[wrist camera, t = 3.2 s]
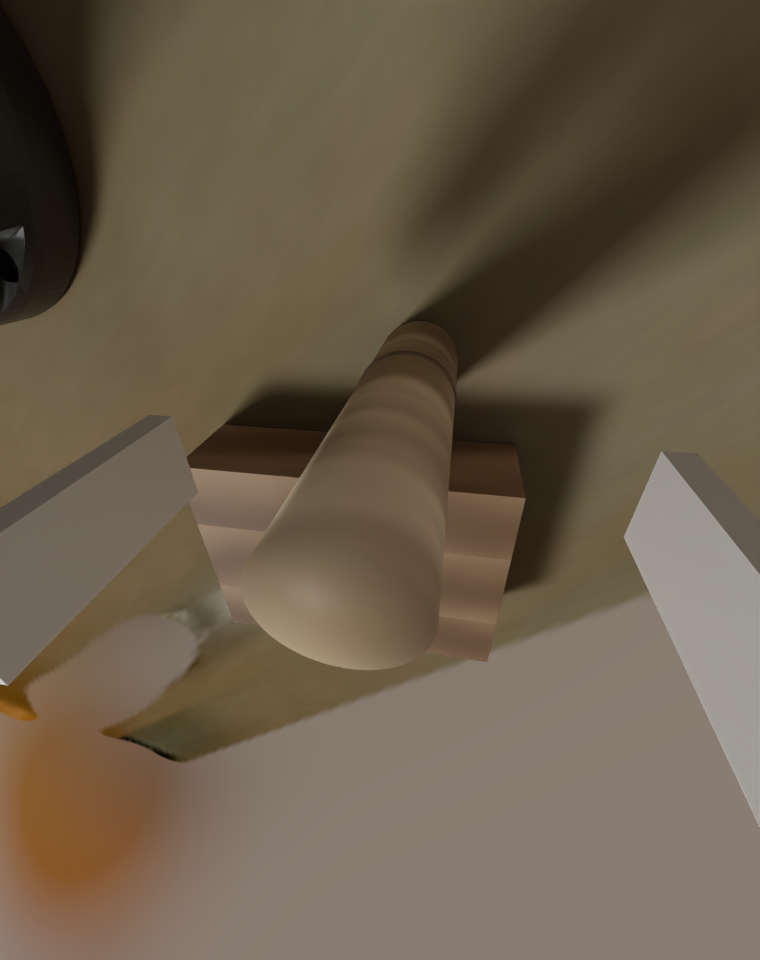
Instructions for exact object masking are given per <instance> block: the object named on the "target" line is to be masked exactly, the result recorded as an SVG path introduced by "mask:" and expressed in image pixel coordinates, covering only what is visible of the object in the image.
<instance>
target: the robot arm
mask: <svg viewBox="0 0 760 960" xmlns="http://www.w3.org/2000/svg"><path fill="white" fill-rule="evenodd" d="M78 248H79V211H78V202H77V194H76V188H75V183H74V177H73V173H72V169H71V164H70V160H69V157H68V153H67V150H66V146H65V143H64V140H63V137H62V134H61V131H60V128H59V125H58V122H57V119H56V117H55V114H54V112H53V109H52V106H51V104H50V101H49V99H48V97H47V95H46V92H45V90H44V88H43V85H42V83H41V81H40V79H39V77H38V75H37V73H36V71H35V69H34V66H33V64H32V62H31V60H30V58H29V57H28V55H27V53H26V51H25V49H24V47H23V45H22V43H21V42H20V40H19V38H18V36H17V35H16V33H15V31H14V29H13V28H12V26H11V24H10V23H9V21H8V19H7V18H6V16H5V14H4V13H3V11H2V10H1V8H0V325H3V324H7V323H11V322H16V321H20V320H24V319H28V318H31V317H34V316H37V315H39V314H41V313H43V312H45V311H46V310H48V309H49V308H50V307H52V306H53V305H54V304H55V303H56V302H57V301H58V300H59V298H60V297H61V296H62V295H63V293H64V292H65V290H66V288H67V287H68V284H69V282H70V280H71V278H72V275H73V272H74V269H75V265H76V260H77V255H78ZM197 493H198V490H197V487H196V484H195V481H194V478H193V475H192V472H191V470H190V467H189V464H188V461H187V458H186V455H185V452H184V449H183V446H182V443H181V441H180V438H179V435H178V432H177V429H176V426H175V423H174V420H173V417H171V416H157V415H149V416H147V417H145V418H144V419H142V420H141V421H139V422H137V423H136V424H134V425H133V426H131V427H129V428H128V429H126V430H125V431H123V432H121V433H120V434H118V435H116V436H115V437H113V438H112V439H110V440H108V441H107V442H105V443H104V444H102V445H100V446H99V447H97V448H96V449H94V450H92V451H91V452H89V453H88V454H86V455H84V456H83V457H81V458H80V459H78V460H76V461H75V462H73V463H72V464H70V465H68V466H67V467H65V468H64V469H62V470H60V471H59V472H57V473H56V474H54V475H52V476H51V477H49V478H48V479H46V480H44V481H43V482H41V483H40V484H38V485H36V486H35V487H33V488H32V489H30V490H28V491H27V492H25V493H23V494H22V495H20V496H19V497H17V498H15V499H14V500H12V501H11V502H9V503H7V504H6V505H4V506H3V507H1V508H0V684H2V685H7V686H8V685H9V684H10V683H11V682H12V681H13V680H14V679H15V678H16V677H17V676H18V675H19V674H20V673H21V672H22V671H23V670H24V669H25V668H26V667H27V666H28V665H29V664H30V663H31V662H32V661H33V660H34V659H35V658H36V657H37V656H38V655H39V654H40V653H41V652H42V651H43V650H44V648H45V647H46V646H47V645H48V644H49V643H50V642H51V641H52V640H53V639H54V638H55V637H56V636H57V635H58V634H59V633H60V632H61V631H62V630H63V629H64V628H65V627H66V626H67V625H68V624H69V623H70V622H71V621H72V620H73V619H74V618H75V617H76V616H77V615H78V614H79V613H80V612H81V611H82V610H83V609H84V608H85V607H86V606H87V605H88V604H89V603H90V602H91V601H92V600H93V599H94V598H95V597H96V596H97V595H98V594H99V593H100V592H101V591H102V590H103V589H104V587H105V586H106V585H107V584H108V583H109V582H110V581H111V580H112V579H113V578H114V577H115V576H116V575H117V574H118V573H119V572H120V571H121V570H122V569H123V568H124V567H125V566H126V565H127V564H128V563H129V562H130V561H131V560H132V559H133V558H134V557H135V556H136V555H137V554H138V553H139V552H140V551H141V550H142V549H143V548H144V547H145V546H146V545H147V544H148V543H149V542H150V541H151V540H152V539H153V538H154V537H155V536H156V535H157V534H158V533H159V532H160V531H161V530H162V529H163V528H164V527H165V525H166V524H167V523H168V522H169V521H170V520H171V519H172V518H173V517H174V516H175V515H176V514H177V513H178V512H179V511H180V510H181V509H182V508H183V507H184V506H185V505H186V504H187V503H188V502H189V501H190V500H191V499H192V498H193V497H194V496H195V495H196V494H197ZM624 539H625V541H626V543H627V545H628V547H629V549H630V552H631V554H632V556H633V558H634V560H635V562H636V564H637V567H638V569H639V571H640V573H641V575H642V577H643V579H644V581H645V584H646V586H647V588H648V590H649V592H650V594H651V596H652V599H653V601H654V603H655V605H656V607H657V609H658V611H659V614H660V616H661V618H662V620H663V622H664V624H665V626H666V628H667V631H668V633H669V635H670V637H671V639H672V641H673V643H674V646H675V648H676V650H677V652H678V654H679V656H680V658H681V661H682V662H683V665H684V667H685V669H686V671H687V673H688V676H689V677H690V680H691V682H692V684H693V686H694V688H695V690H696V692H697V695H698V697H699V699H700V701H701V703H702V705H703V707H704V710H705V712H706V714H707V716H708V718H709V720H710V723H711V725H712V727H713V728H714V731H715V733H716V735H717V737H718V740H719V742H720V744H721V746H722V748H723V750H724V752H725V755H726V757H727V759H728V761H729V763H730V765H731V767H732V770H733V772H734V774H735V776H736V778H737V780H738V782H739V785H740V787H741V789H742V791H743V793H744V795H745V797H746V799H747V801H748V804H749V806H750V808H751V810H752V812H753V814H754V817H755V819H756V821H757V823H758V825H759V827H760V520H759V519H758V518H757V517H756V516H755V514H754V513H753V512H752V511H751V510H750V509H749V508H748V507H747V506H746V505H745V504H744V503H743V502H742V501H741V500H740V498H739V497H738V496H737V495H736V494H735V493H734V492H733V491H732V490H731V489H730V488H729V487H728V486H727V485H726V484H725V482H724V481H723V480H722V479H721V478H720V477H719V476H718V475H717V474H716V473H715V472H714V471H713V470H712V469H711V468H710V466H709V465H708V464H707V463H706V462H705V461H704V460H703V459H702V458H701V457H700V456H699V455H698V454H697V453H683V452H669V451H661V453H660V455H659V458H658V460H657V462H656V465H655V467H654V469H653V471H652V474H651V476H650V478H649V481H648V483H647V485H646V487H645V490H644V492H643V494H642V497H641V499H640V501H639V503H638V506H637V508H636V510H635V513H634V515H633V517H632V520H631V522H630V524H629V526H628V529H627V531H626V533H625V536H624Z"/></svg>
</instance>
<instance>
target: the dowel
mask: <svg viewBox="0 0 760 960" xmlns="http://www.w3.org/2000/svg"><path fill="white" fill-rule="evenodd" d="M457 369H458V353H457V349H456V346H455V344H454V342H453V340H452V338H451V337H450V336H449V334H448V333H447V332H446V331H445V330H443V329H442V328H441V327H439V326H437V325H435V324H433V323H430V322H425V321H414V322H409V323H406V324H404V325H402V326H400V327H398V328H397V329H395V330H394V331H393V332H392V333H391V334H390V335H389V336H388V338H387V339H386V341H385V343H384V344H383V346H382V347H381V349H380V351H379V352H378V354H377V355H376V357H375V359H374V360H373V362H372V363H371V364H370V365H369V367H368V368H367V369H366V370H365V372H364V373H363V375H362V377H361V378H360V381H359V383H358V386H357V387H356V389H355V390H354V392H353V393H352V395H351V397H350V398H349V400H348V401H347V403H346V405H345V406H344V408H343V409H342V411H341V413H340V414H339V416H338V417H337V419H336V420H335V422H334V424H333V425H332V427H331V428H330V430H329V432H328V433H327V435H326V436H325V438H324V440H323V441H322V443H321V444H320V446H319V448H318V449H317V451H316V452H315V454H314V455H313V457H312V459H311V460H310V462H309V463H308V465H307V467H306V468H305V470H304V471H303V473H302V475H301V476H300V478H299V479H298V481H297V482H296V484H295V486H294V487H293V489H292V490H291V492H290V494H289V495H288V497H287V498H286V500H285V502H284V503H283V505H282V506H281V508H280V509H279V511H278V513H277V514H276V516H275V517H274V519H273V521H272V522H271V524H270V525H269V527H268V529H267V530H266V532H265V533H264V535H263V537H262V538H261V540H260V541H259V543H258V544H257V546H256V548H255V549H254V551H253V552H252V554H251V556H250V557H249V559H248V560H247V562H246V564H245V565H244V567H243V570H242V573H241V578H240V590H241V594H242V598H243V601H244V603H245V605H246V607H247V609H248V611H249V612H250V614H251V615H252V617H253V618H254V619H255V621H256V622H257V623H258V624H259V625H260V626H261V627H262V628H263V629H264V630H265V631H266V632H267V633H268V634H269V635H271V636H272V637H273V638H274V639H276V640H277V641H279V642H280V643H281V644H283V645H285V646H286V647H288V648H290V649H291V650H293V651H295V652H297V653H299V654H301V655H303V656H306V657H308V658H310V659H313V660H316V661H319V662H321V663H325V664H329V665H332V666H337V667H342V668H348V669H356V670H380V669H388V668H393V667H398V666H401V665H404V664H407V663H409V662H411V661H413V660H415V659H417V658H418V657H420V656H421V655H423V654H424V653H425V652H426V651H427V650H428V649H429V648H430V646H431V645H432V643H433V642H434V640H435V637H436V635H437V630H438V623H439V610H440V596H441V583H442V569H443V556H444V543H445V529H446V516H447V503H448V489H449V476H450V463H451V449H452V436H453V423H454V415H455V410H456V383H457Z"/></svg>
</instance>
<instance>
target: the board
mask: <svg viewBox="0 0 760 960" xmlns="http://www.w3.org/2000/svg"><path fill="white" fill-rule="evenodd" d="M327 433H328V432H324V431H309V430H295V429H280V428H266V427H251V426H237V425H222V426H221V427H220V428H219V429H218V430H217V431H216V432H214V433H213V434H212V435H211V436H210V437H209V438H208V439H207V440H205V441H204V442H203V443H202V444H201V445H200V446H199V447H197V448H196V449H195V450H194V451H193V452H192V453H191V454H190V455H188V456H187V457H186V458H187V461H188V464H189V467H190V470H191V472H192V475H193V478H194V481H195V484H196V487H197V490H198V493H197V494H196V495H195V496H194V497H193V498H192V499H191V500H190V501H189V503H190V506H191V509H192V511H193V514H194V517H195V519H196V522H197V525H198V527H199V530H200V533H201V535H202V538H203V540H204V543H205V546H206V548H207V551H208V554H209V556H210V559H211V562H212V564H213V567H214V570H215V572H216V575H217V578H218V580H219V583H220V585H221V588H222V591H223V593H224V596H225V599H226V601H227V604H228V607H229V609H230V612H231V615H232V617H233V620H234V622H237V623H243V624H249V625H256V626H260V625H259V624H258V623H257V622H256V621H255V619H254V618H253V617H252V615H251V614H250V612H249V611H248V609H247V607H246V605H245V603H244V601H243V598H242V594H241V590H240V578H241V573H242V570H243V567H244V565H245V564H246V562H247V560H248V559H249V557H250V556H251V554H252V552H253V551H254V549H255V548H256V546H257V544H258V543H259V541H260V540H261V538H262V537H263V535H264V533H265V532H266V530H267V529H268V527H269V525H270V524H271V522H272V521H273V519H274V517H275V516H276V514H277V513H278V511H279V509H280V508H281V506H282V505H283V503H284V502H285V500H286V498H287V497H288V495H289V494H290V492H291V490H292V489H293V487H294V486H295V484H296V482H297V481H298V479H299V478H300V476H301V475H302V473H303V471H304V470H305V468H306V467H307V465H308V463H309V462H310V460H311V459H312V457H313V455H314V454H315V452H316V451H317V449H318V448H319V446H320V444H321V443H322V441H323V440H324V438H325V436H326V435H327ZM525 500H526V497H525V492H524V486H523V481H522V476H521V471H520V466H519V461H518V455H517V450H516V445H513V444H499V443H484V442H470V441H455V440H452V449H451V463H450V476H449V489H448V503H447V516H446V529H445V543H444V556H443V569H442V583H441V596H440V610H439V623H438V630H437V635H436V637H435V640H434V642H433V643H432V645H431V646H430V648H429V649H428V650H427V651H426V653H433V654H439V655H445V656H452V657H458V658H464V659H471V660H477V661H484V662H487V660H488V656H489V652H490V647H491V643H492V639H493V635H494V631H495V626H496V622H497V618H498V614H499V609H500V605H501V601H502V597H503V593H504V588H505V584H506V580H507V576H508V571H509V567H510V563H511V559H512V554H513V550H514V546H515V542H516V538H517V533H518V529H519V525H520V521H521V516H522V512H523V508H524V504H525Z"/></svg>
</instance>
